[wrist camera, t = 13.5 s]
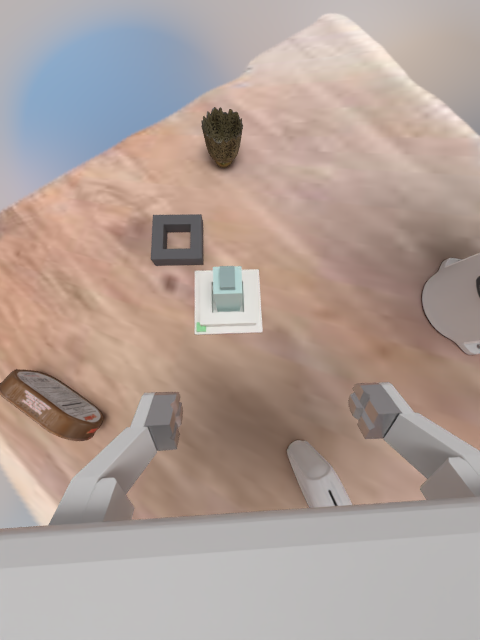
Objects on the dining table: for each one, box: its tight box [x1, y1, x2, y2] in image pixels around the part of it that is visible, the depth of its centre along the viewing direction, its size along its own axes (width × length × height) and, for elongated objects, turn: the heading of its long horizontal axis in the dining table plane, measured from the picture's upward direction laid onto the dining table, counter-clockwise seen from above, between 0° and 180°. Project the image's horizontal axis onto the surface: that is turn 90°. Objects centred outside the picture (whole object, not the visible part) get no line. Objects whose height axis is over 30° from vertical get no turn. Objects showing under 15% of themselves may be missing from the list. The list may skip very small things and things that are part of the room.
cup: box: [202, 107, 243, 168], centre depth 44 cm, size 8×7×8 cm
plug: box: [213, 266, 242, 312], centre depth 36 cm, size 4×4×11 cm
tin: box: [0, 369, 103, 441], centre depth 33 cm, size 15×3×8 cm, turn 57°
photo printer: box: [287, 440, 352, 508], centre depth 30 cm, size 10×4×12 cm, turn 23°
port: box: [195, 269, 262, 335], centre depth 40 cm, size 12×12×3 cm
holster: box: [151, 215, 203, 266], centre depth 43 cm, size 9×9×2 cm
